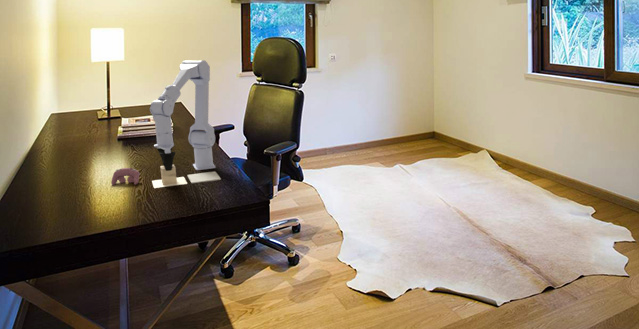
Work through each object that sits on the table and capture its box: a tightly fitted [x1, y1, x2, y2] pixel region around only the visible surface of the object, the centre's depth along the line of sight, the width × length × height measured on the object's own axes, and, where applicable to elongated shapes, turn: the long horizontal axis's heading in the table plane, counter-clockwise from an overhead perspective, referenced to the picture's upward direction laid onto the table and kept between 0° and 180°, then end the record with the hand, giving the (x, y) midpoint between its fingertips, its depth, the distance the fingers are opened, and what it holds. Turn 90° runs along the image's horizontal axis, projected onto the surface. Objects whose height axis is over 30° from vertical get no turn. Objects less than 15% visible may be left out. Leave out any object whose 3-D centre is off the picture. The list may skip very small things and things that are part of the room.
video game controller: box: [110, 167, 140, 186], centre depth 191 cm, size 10×5×7 cm, turn 92°
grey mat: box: [186, 171, 222, 184], centre depth 195 cm, size 11×11×1 cm
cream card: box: [151, 176, 188, 189], centre depth 191 cm, size 10×12×1 cm
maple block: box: [159, 164, 178, 185], centre depth 190 cm, size 5×5×6 cm
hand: (167, 167), depth 189 cm, fingers open, 7 cm apart
